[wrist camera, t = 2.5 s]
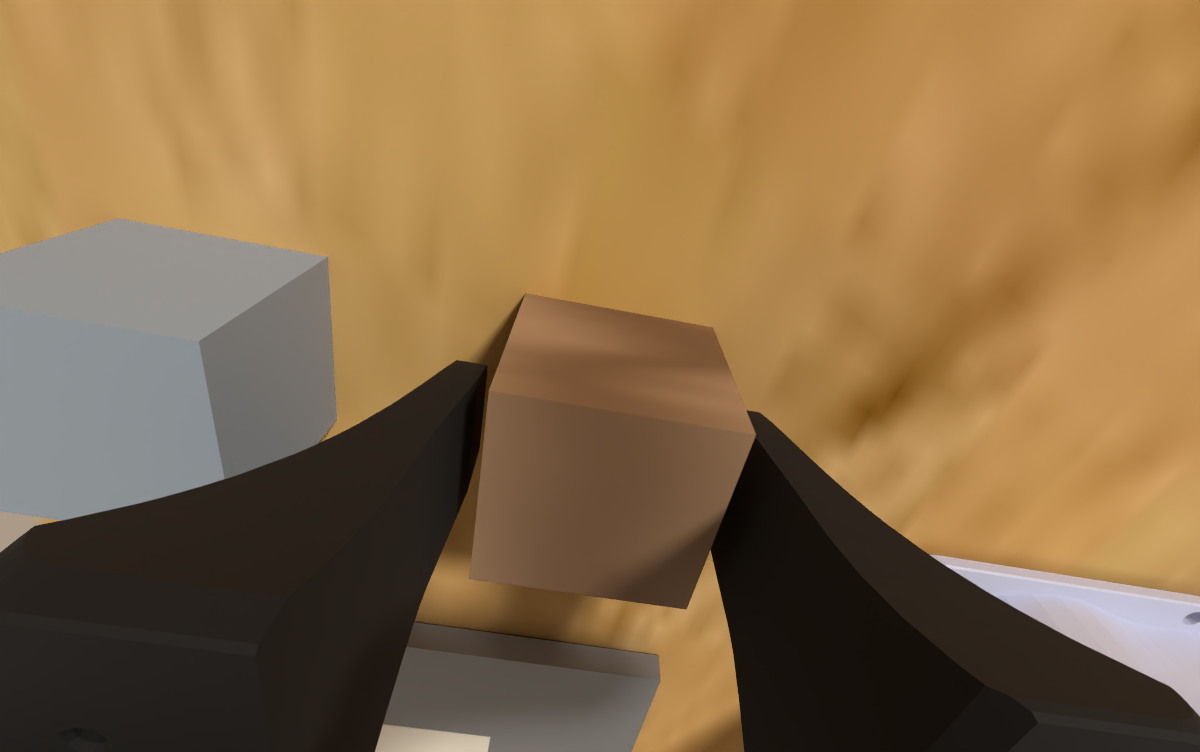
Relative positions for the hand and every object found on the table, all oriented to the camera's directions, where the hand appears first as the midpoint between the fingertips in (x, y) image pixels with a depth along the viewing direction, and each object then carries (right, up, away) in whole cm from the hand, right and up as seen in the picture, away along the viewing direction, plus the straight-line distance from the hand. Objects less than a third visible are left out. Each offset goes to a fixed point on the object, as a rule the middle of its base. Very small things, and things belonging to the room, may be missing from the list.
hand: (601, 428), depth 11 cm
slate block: (-8, +2, +1) cm, 8 cm away
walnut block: (0, +1, +1) cm, 2 cm away
